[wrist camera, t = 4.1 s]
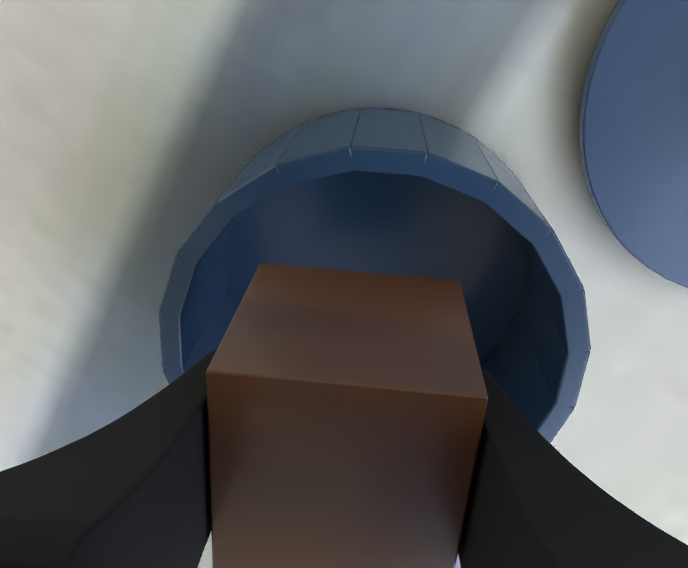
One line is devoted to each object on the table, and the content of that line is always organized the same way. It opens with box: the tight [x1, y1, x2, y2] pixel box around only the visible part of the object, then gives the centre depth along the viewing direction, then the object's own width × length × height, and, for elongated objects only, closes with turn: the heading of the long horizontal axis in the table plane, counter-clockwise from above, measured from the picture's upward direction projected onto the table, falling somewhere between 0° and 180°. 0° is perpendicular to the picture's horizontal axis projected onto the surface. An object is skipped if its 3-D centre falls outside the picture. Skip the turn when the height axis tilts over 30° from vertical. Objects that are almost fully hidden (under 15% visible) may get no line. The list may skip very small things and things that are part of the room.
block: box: [206, 263, 488, 568], centre depth 13 cm, size 4×4×4 cm
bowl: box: [159, 108, 591, 443], centre depth 20 cm, size 12×12×6 cm
